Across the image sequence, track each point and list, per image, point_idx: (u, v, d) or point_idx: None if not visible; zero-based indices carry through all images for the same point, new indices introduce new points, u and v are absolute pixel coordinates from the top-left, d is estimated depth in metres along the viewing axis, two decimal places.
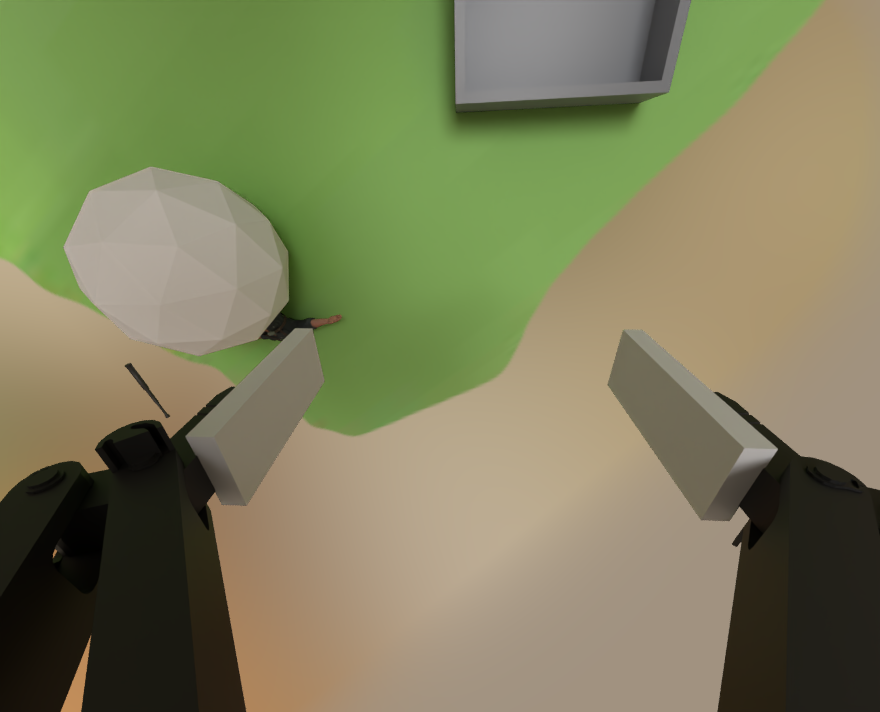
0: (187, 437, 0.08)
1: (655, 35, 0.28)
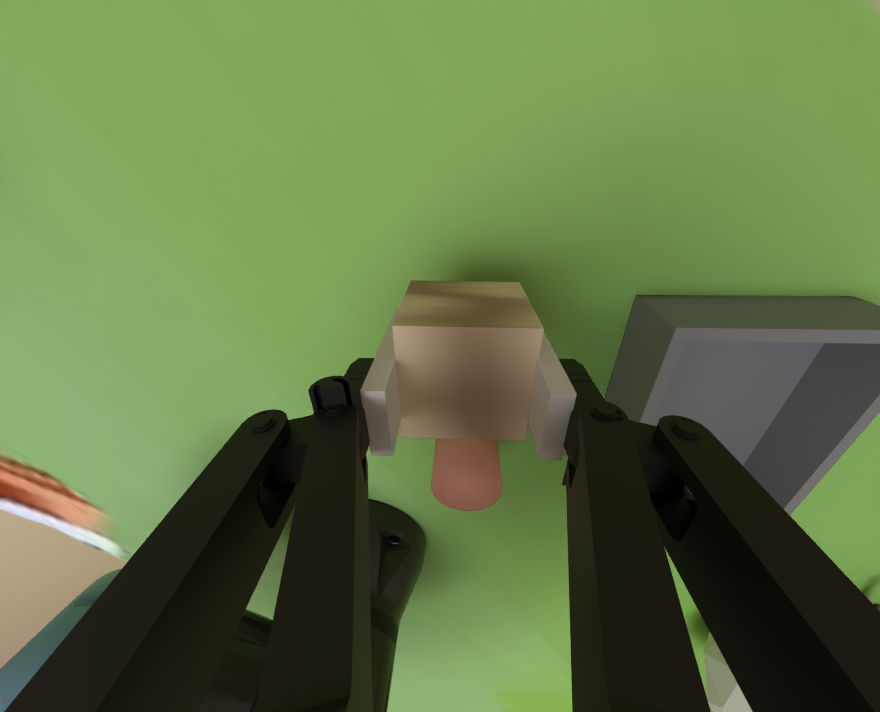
0: (361, 392, 0.10)
1: None
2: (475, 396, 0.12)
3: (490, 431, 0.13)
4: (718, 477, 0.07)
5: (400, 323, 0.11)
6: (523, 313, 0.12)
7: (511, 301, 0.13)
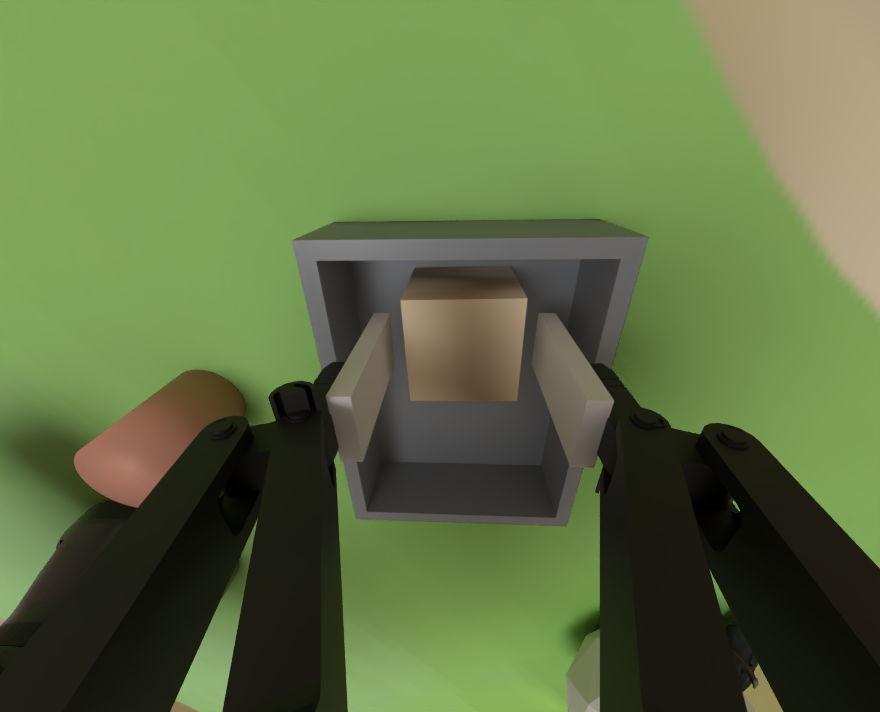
0: (326, 397, 0.10)
1: None
2: (473, 361, 0.14)
3: (486, 393, 0.15)
4: (767, 489, 0.07)
5: (406, 298, 0.13)
6: (511, 288, 0.14)
7: (501, 280, 0.15)
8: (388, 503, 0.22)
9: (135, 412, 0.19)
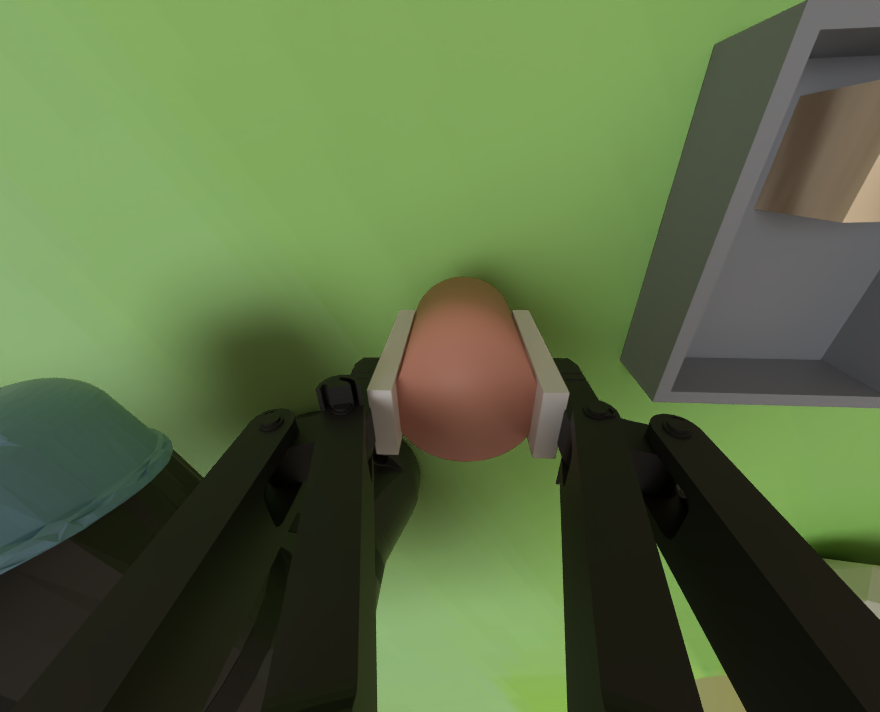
0: (367, 391, 0.10)
1: None
2: None
3: None
4: (709, 475, 0.07)
5: None
6: None
7: None
8: (686, 385, 0.20)
9: (453, 313, 0.12)
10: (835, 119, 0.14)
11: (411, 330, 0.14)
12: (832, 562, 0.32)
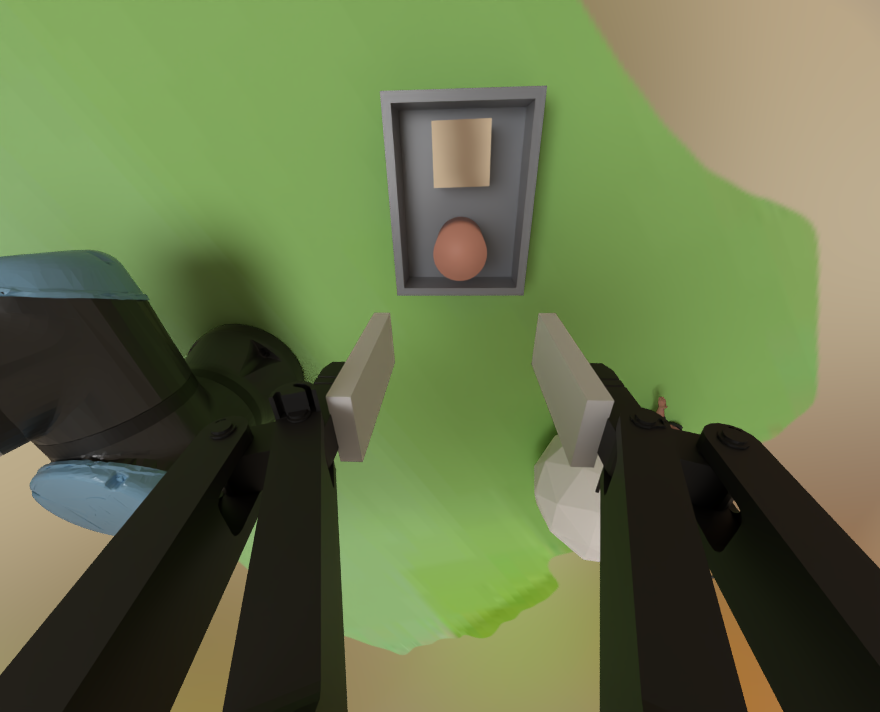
0: (326, 397, 0.10)
1: (490, 105, 0.30)
2: (466, 159, 0.29)
3: (473, 181, 0.29)
4: (768, 489, 0.07)
5: None
6: None
7: None
8: (416, 286, 0.36)
9: (455, 222, 0.32)
10: None
11: None
12: None
